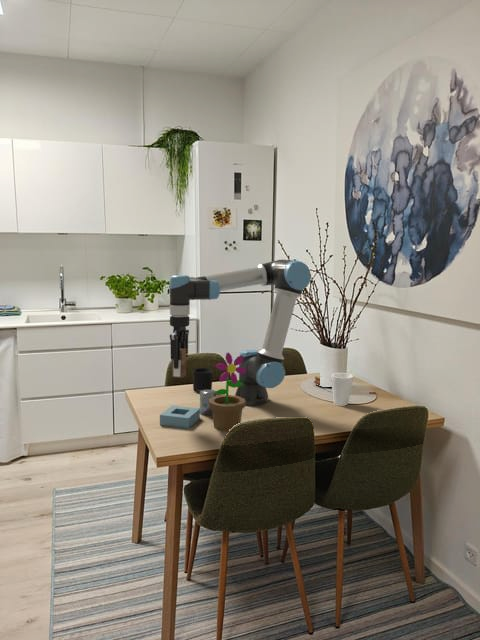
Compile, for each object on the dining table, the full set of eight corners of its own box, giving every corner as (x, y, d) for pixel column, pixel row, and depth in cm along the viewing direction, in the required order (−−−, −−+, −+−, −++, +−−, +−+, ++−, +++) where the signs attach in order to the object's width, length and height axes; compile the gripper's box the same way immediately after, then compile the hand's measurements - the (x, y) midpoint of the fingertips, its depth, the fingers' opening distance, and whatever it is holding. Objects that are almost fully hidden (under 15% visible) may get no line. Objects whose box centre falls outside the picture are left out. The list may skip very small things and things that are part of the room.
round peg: (218, 411, 214) (218, 390, 213) (213, 416, 208) (213, 394, 206) (202, 409, 216) (203, 388, 215) (197, 414, 209) (197, 393, 208)
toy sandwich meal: (344, 388, 252) (345, 378, 252) (319, 389, 249) (320, 380, 248) (333, 381, 264) (333, 372, 263) (309, 382, 260) (309, 373, 260)
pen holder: (188, 390, 243) (188, 369, 242) (204, 386, 250) (204, 367, 248) (200, 394, 236) (200, 374, 235) (216, 391, 242) (216, 370, 241)
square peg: (186, 375, 200) (186, 348, 199) (181, 378, 197) (182, 350, 195) (176, 374, 202) (176, 347, 200) (172, 377, 198) (172, 349, 196)
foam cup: (353, 402, 229) (355, 374, 227) (349, 408, 220) (350, 379, 218) (333, 399, 233) (334, 371, 231) (327, 405, 224) (328, 376, 222)
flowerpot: (216, 435, 188) (216, 355, 183) (203, 422, 201) (203, 347, 196) (251, 429, 194) (252, 352, 189) (236, 417, 207) (237, 345, 202)
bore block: (199, 418, 205) (199, 408, 205) (188, 428, 194) (188, 418, 193) (172, 414, 209) (172, 405, 208) (159, 424, 197) (159, 414, 197)
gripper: (179, 312, 205) (179, 368, 208) (161, 317, 188) (161, 379, 192) (196, 313, 203) (196, 370, 206) (179, 319, 186) (179, 381, 190)
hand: (179, 374), depth 199 cm, fingers closed on square peg, 4 cm apart
